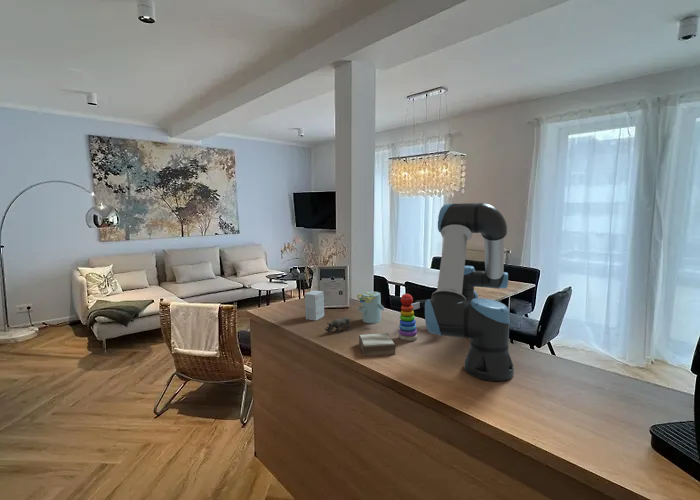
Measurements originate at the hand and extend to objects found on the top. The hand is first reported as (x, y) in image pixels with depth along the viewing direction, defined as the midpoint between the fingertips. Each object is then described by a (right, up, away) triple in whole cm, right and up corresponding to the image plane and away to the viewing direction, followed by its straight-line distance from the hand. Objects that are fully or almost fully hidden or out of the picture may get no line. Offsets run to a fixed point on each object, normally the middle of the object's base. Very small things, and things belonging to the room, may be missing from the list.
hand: (420, 311), depth 152 cm
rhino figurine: (-35, -10, +6) cm, 37 cm away
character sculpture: (-21, -8, +20) cm, 30 cm away
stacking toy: (-6, -11, -3) cm, 13 cm away
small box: (-48, -8, +27) cm, 55 cm away
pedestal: (-20, -12, -14) cm, 27 cm away
